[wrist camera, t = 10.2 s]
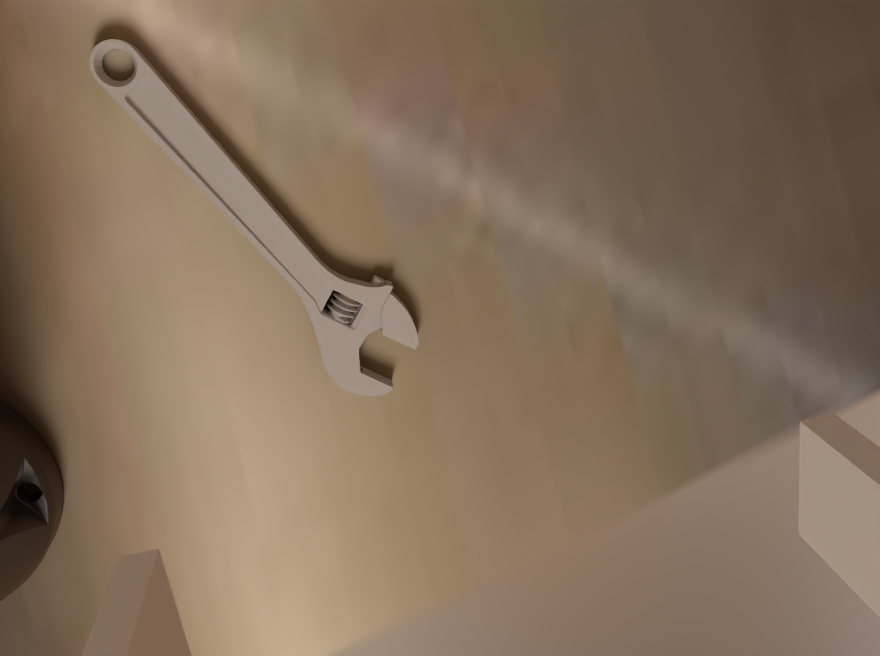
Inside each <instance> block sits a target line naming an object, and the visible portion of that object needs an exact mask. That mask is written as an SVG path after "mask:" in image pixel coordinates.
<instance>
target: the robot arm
mask: <svg viewBox="0 0 880 656" xmlns="http://www.w3.org/2000/svg"><path fill="white" fill-rule="evenodd" d="M799 460H800V461H799V535H800V536H801V537H802V538H803V539H804V540H805V541H806V542H807V543H808V544H809V545H810V546H811V547H812V548H813V549H814V550H815V551H816V552H817V553H818V554H819V555H820V556H821V557H822V558H823V559H824V561H825V562H826V563H827V564H828V565H829V566H830V567H831V568H832V569H833V570H834V571H835V572H836V573H837V574H838V575H839V576H840V577H841V578H842V579H843V580H844V581H845V582H846V583H847V584H848V585H849V586H850V587H851V588H852V589H853V590H854V592H855V593H856V594H857V595H858V596H859V597H860V598H861V599H862V600H863V601H864V602H865V603H866V604H867V605H868V606H869V607H870V608H871V609H872V610H873V611H874V612H875V613H876V614H877V615H878V616H879V617H880V447H878V446H877V445H876V444H874V443H873V442H872V441H870V440H869V439H868V438H866V437H865V436H864V435H862V434H861V433H859V432H858V431H857V430H855V429H854V428H853V427H851V426H850V425H848V424H847V423H846V422H844V421H843V420H842V419H840V418H839V417H838V416H836V415H835V414H834V415H829V416H824V417H819V418H814V419H809V420H804V421H800V458H799ZM62 510H63V488H62V482H61V477H60V473H59V470H58V467H57V465H56V462H55V460H54V458H53V456H52V454H51V452H50V450H49V448H48V447H47V445H46V444H45V442H44V441H43V439H42V438H41V437H40V435H39V434H38V433H37V432H36V431H35V430H34V428H33V427H32V426H31V425H30V424H29V423H28V422H27V421H26V420H24V419H23V418H22V417H21V416H20V415H19V414H17V413H16V412H15V411H13V410H12V409H11V408H9V407H8V406H6V405H5V404H3V403H2V402H0V601H1V600H3V599H4V598H5V597H7V596H8V595H10V594H11V593H12V592H14V591H15V590H16V589H17V588H19V587H20V586H21V585H22V584H23V583H24V582H25V581H26V580H27V579H28V578H29V577H30V575H31V574H32V573H33V572H34V571H35V569H36V568H37V567H38V566H39V564H40V562H41V561H42V559H43V558H44V556H45V554H46V552H47V550H48V548H49V546H50V544H51V542H52V540H53V538H54V537H55V535H56V532H57V530H58V527H59V524H60V520H61V516H62ZM82 656H191V652H190V649H189V646H188V643H187V639H186V636H185V633H184V630H183V626H182V623H181V620H180V617H179V613H178V610H177V607H176V603H175V600H174V597H173V594H172V590H171V587H170V584H169V581H168V577H167V574H166V571H165V568H164V564H163V561H162V558H161V555H160V551H159V549H156V550H151V551H146V552H141V553H136V554H131V555H126V556H121V557H119V558H118V560H117V563H116V566H115V568H114V571H113V574H112V576H111V579H110V582H109V584H108V587H107V590H106V592H105V595H104V598H103V600H102V603H101V606H100V608H99V611H98V614H97V616H96V619H95V622H94V624H93V627H92V630H91V632H90V635H89V638H88V640H87V643H86V646H85V648H84V651H83V654H82Z"/></svg>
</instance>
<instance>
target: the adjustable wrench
mask: <svg viewBox="0 0 880 656" xmlns="http://www.w3.org/2000/svg"><path fill="white" fill-rule="evenodd" d="M111 49H122V50H124V51H126V52H127V53H128V54H130V56H131V57H132V59H133V61H134V72H133V74H132V76H131V77H130V78H128V79H127V80H124V81H116V80H113V79H111V78H110V77H109V76H107V74H106V73H105V72H104V69H103V66H102V60H103V57H104V55H105V54H106V52H108V51H109V50H111ZM90 69H91V72H92V75H93V76H94V78H95V79H96V80H97V82H98V83H99V84H100V85H101V86H102V87H103V88H104V89H105V90H106V91H107V92H108V93H109V94H110V95H111V96H112V97H113V99H114V100H115V101H116V102H117V103H118V104H119V105H120V106H121V107H122V108H123V109H124V110H125V111H126V112H127V113H128V114H129V115H130V116H131V117H132V119H133V120H134V121H135V122H136V123H137V124H138V125H139V126H140V127H141V128H142V129H143V130H144V131H145V132H146V133H147V134H148V135H149V136H150V137H151V138H152V140H153V141H154V142H155V143H156V144H157V145H158V146H159V147H160V148H161V149H162V150H163V151H164V152H165V153H166V154H167V155H168V156H169V157H170V158H171V160H172V161H173V162H174V163H175V164H176V165H177V166H178V167H179V168H180V169H181V170H182V171H183V172H184V173H185V174H186V175H187V176H188V177H189V178H190V179H191V181H192V182H193V183H194V184H195V185H196V186H197V187H198V188H199V189H200V190H201V191H202V192H203V193H204V194H205V195H206V196H207V197H208V198H209V199H210V201H211V202H212V203H213V204H214V205H215V206H216V207H217V208H218V209H219V210H220V211H221V212H222V213H223V214H224V215H225V216H226V217H227V218H228V219H229V220H230V222H231V223H232V224H233V225H234V226H235V227H236V228H237V229H238V230H239V231H240V232H241V233H242V234H243V235H244V236H245V237H246V238H247V239H248V240H249V242H250V243H251V244H252V245H253V246H254V247H255V248H256V249H257V250H258V251H259V252H260V253H261V254H262V255H263V256H264V257H265V258H266V259H267V260H268V261H269V263H270V264H271V265H272V266H273V267H274V268H275V269H276V270H277V271H278V272H279V273H280V274H281V275H282V276H283V277H284V278H285V279H286V280H287V281H288V283H289V284H290V285H291V286H292V287H293V288H294V289H295V291H296V292H297V293H298V295H299V296H300V298H301V299H302V301H303V303H304V305H305V307H306V309H307V312H308V314H309V317H310V320H311V322H312V325H313V327H314V330H315V334H316V337H317V340H318V344H319V348H320V352H321V356H322V360H323V364H324V367H325V369H326V371H327V373H328V375H329V376H330V377H331V379H332V380H333V381H334V382H335V383H336V384H337V385H338V386H340V387H341V388H343V389H345V390H347V391H348V392H350V393H354V394H357V395H364V396H378V395H383V394H387V393H389V392H390V391H391V390H392V389H393V384H392V380H390V379H388V378H386V377H384V376H381V375H379V374H377V373H375V372H373V371H370V370H368V369H366V368H364V367H362V366H360V361H359V348H360V347H361V345H362V343H363V342H364V340H365V338H366V336H367V335H368V334H370V333H371V332H373V331H375V330H377V329H381V331H382V335H384V336H386V337H388V338H391V339H393V340H395V341H397V342H399V343H401V344H403V345H405V346H407V347H410V348H412V349H414V350H415V349H416V347H417V346H418V344H419V342H418V335H417V331H416V328H415V325H414V322H413V319H412V317H411V314H410V312H409V311H408V309H407V307H406V306H405V305H404V303H403V302H402V301H401V300H400V299H399V298H398V296H397V295H396V294H395V293H394V292H393V291H392V288H393V284H392V281H388V280H384V279H382V278H380V277H379V276H376V275H374V276H373V278H372V279H371V280H372V281H371V282H365V281H361V280H357V279H353V278H349V277H346V276H344V275H341V274H339V273H337V272H335V271H334V270H333V269H331V268H330V267H328V266H327V265H326V264H325V263H324V262H323V261H322V260H321V259H319V257H318V256H317V255H316V254H315V253H314V252H313V251H312V249H311V248H310V247H309V246H308V245H307V244H306V242H305V241H304V240H303V239H302V238H301V237H300V236H299V234H298V233H297V232H296V231H295V230H294V229H293V227H292V226H291V225H290V224H289V223H288V222H287V221H286V219H285V218H284V217H283V216H282V215H281V214H280V212H279V211H278V210H277V209H276V208H275V207H274V206H273V204H272V203H271V202H270V201H269V200H268V199H267V197H266V196H265V195H264V194H263V193H262V192H261V191H260V189H259V188H258V187H257V186H256V185H255V184H254V182H253V181H252V180H251V179H250V178H249V177H248V176H247V174H246V173H245V172H244V171H243V170H242V169H241V167H240V166H239V165H238V164H237V163H236V162H235V161H234V159H233V158H232V157H231V156H230V155H229V154H228V152H227V151H226V150H225V149H224V148H223V147H222V146H221V144H220V143H219V142H218V141H217V140H216V139H215V137H214V136H213V135H212V134H211V133H210V132H209V131H208V129H207V128H206V127H205V126H204V125H203V124H202V122H201V121H200V120H199V119H198V118H197V117H196V116H195V114H194V113H193V112H192V111H191V110H190V109H189V107H188V106H187V105H186V104H185V103H184V102H183V101H182V99H181V98H180V97H179V96H178V95H177V94H176V92H175V91H174V90H173V89H172V88H171V87H170V86H169V84H168V83H167V82H166V81H165V80H164V79H163V77H162V76H161V75H160V74H159V73H158V72H157V71H156V69H155V68H154V67H153V66H152V65H151V64H150V62H149V61H148V60H147V59H146V58H145V57H144V56H143V54H142V53H141V52H140V51H139V50H138V49H137V48H136V47H135V46H134V45H133V44H131V43H129V42H127V41H125V40H119V39H109V40H104V41H102V42H100V43H99V44H97V45H96V46H95V48H94V49H93V50H92V52H91V56H90ZM333 290H335V291H337V292H339V294H338V293H334V294H333V295H334V296H335V297H336V299H333V298H331V299H330V301H331V302H332V303H333V305H331V304H327V307H328V308H329V309H330V310H327V309H325V308H324V306H325V304H326V302H327V300H328V299H329V297H330V295H331V293H332V291H333Z"/></svg>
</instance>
